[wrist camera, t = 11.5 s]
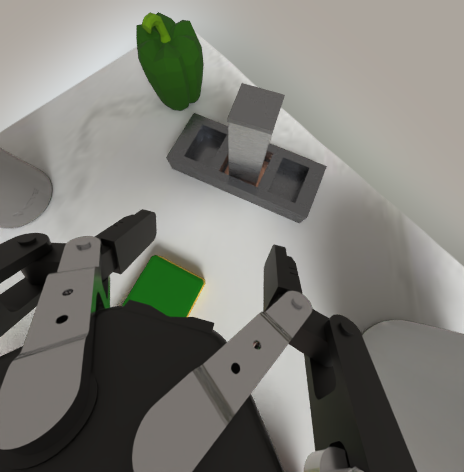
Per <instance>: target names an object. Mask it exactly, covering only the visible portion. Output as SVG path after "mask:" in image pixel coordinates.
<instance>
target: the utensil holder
mask: <svg viewBox="0 0 464 472" xmlns="http://www.w3.org/2000/svg"><path fill="white" fill-rule="evenodd" d="M362 337H363V339H364V342H365V344H366V347H367V349H368V352H369V354H370V356H371V359H372V361H373V364H374V366H375V369H376V371H377V374H378V376H379V379H380V381H381V384H382V386H383V388H384V391H385V393H386V396H387V398H388V401H389V403H390V406H391V408H392V411H393V413H394V416H395V418H396V420H397V423H398V425H399V428H400V430H401V433H402V435H403V438H404V440H405V443H406V445H407V448H408V450H409V453H410V455H411V457H412V460H413V462H414V465H415V467H416V470H417V472H464V334H462V333H458V332H454V331H450V330H445V329H441V328H437V327H433V326H428V325H424V324H420V323H415V322H410V321H405V320H388V321H383V322H380V323H378V324H376V325H374V326H372V327H371V328H369V329H368V330H367V331H365V333H364V334H363V335H362Z"/></svg>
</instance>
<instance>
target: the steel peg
mask: <svg viewBox="0 0 464 472" xmlns="http://www.w3.org/2000/svg"><path fill="white" fill-rule="evenodd" d="M283 99H284V95H283V94H279V93H276V92H272V91H268V90H265V89H261V88H258V87H254V86H250V85H247V84H243V83H242V84H241V86H240V89H239V91H238V94H237V96H236V99H235V101H234V104H233V106H232V109H231V111H230V113H229V116H228V147H229V175H230V176H232V177H234V178H237V179H239V180H241V181H244V182H246V183H249V184H251V185H253V186H256V184H257V181H258V178H259V175H260V172H261V169H262V166H263V163H264V159H265V156H266V153H267V150H268V146H269V143H270V140H271V136H272V133H273V130H274V127H275V123H276V120H277V117H278V114H279V111H280V108H281V105H282V102H283Z"/></svg>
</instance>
